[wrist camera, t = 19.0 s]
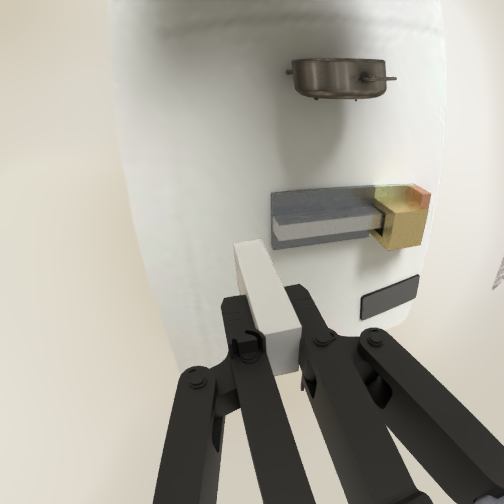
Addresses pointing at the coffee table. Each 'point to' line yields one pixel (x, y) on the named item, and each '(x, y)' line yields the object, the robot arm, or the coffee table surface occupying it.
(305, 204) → the rail
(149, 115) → the coffee table surface
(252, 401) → the robot arm
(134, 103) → the coffee table surface
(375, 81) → the alarm clock
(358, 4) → the coffee table surface
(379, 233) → the clip
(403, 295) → the smartphone
